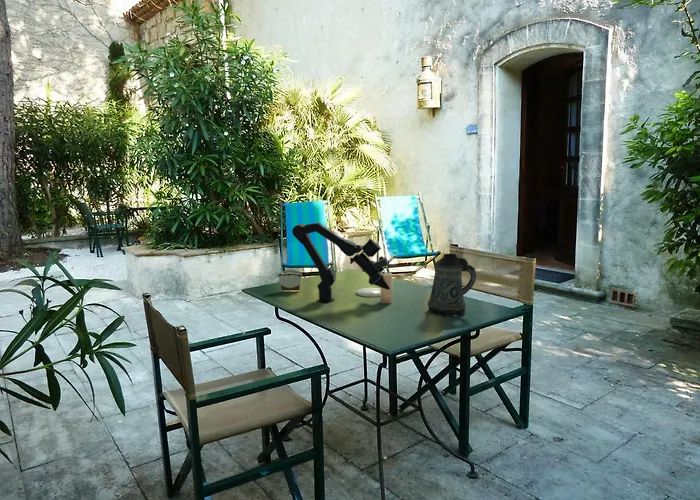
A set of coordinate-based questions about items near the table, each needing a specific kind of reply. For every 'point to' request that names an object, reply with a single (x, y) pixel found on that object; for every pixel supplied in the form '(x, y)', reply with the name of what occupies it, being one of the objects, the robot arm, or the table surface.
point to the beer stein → (450, 286)
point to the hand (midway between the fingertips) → (389, 287)
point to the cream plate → (369, 292)
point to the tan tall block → (386, 294)
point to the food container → (290, 280)
